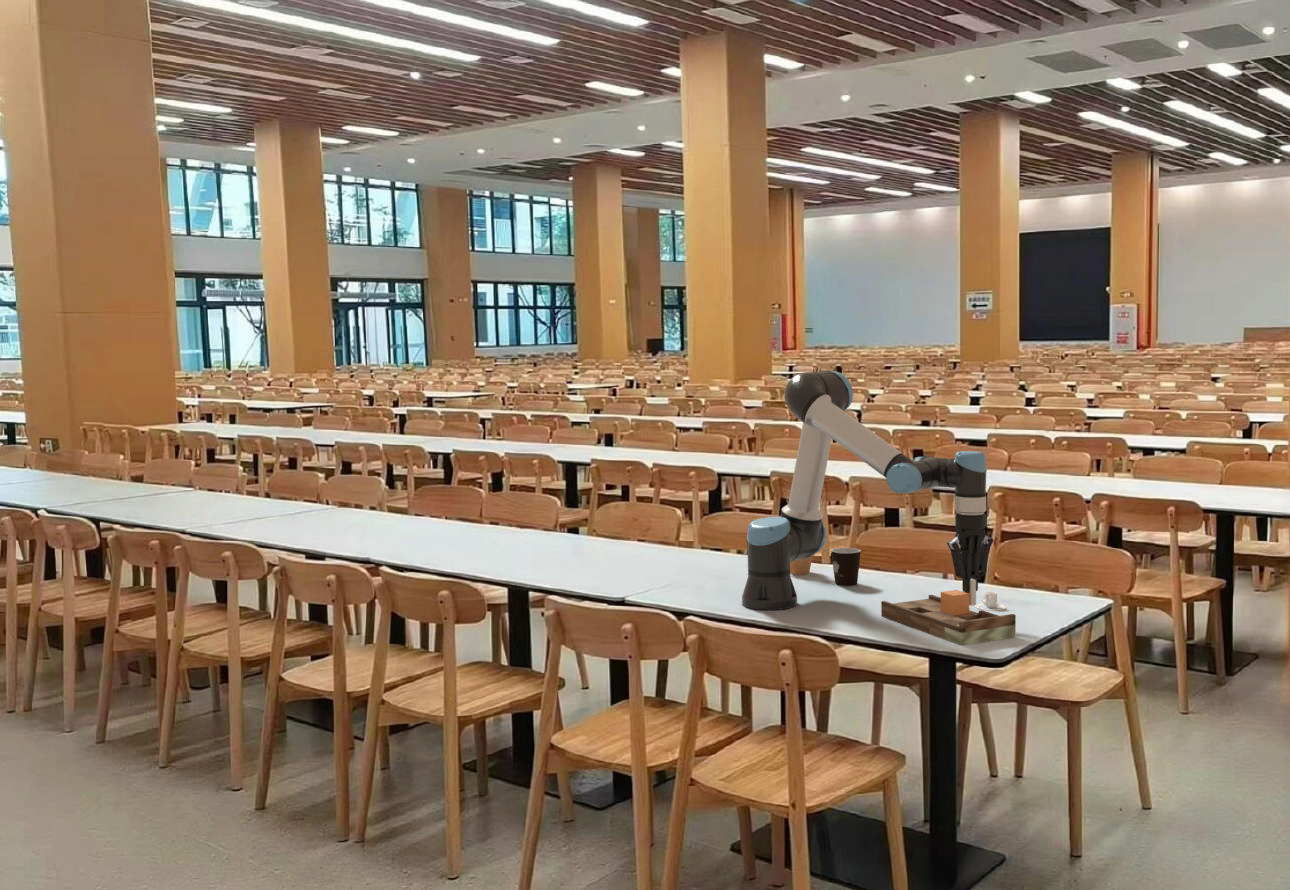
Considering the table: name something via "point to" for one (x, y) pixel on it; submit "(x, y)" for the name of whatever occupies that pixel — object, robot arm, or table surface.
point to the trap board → (950, 621)
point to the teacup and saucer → (990, 601)
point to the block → (955, 602)
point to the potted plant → (800, 565)
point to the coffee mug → (845, 565)
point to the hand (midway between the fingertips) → (970, 604)
